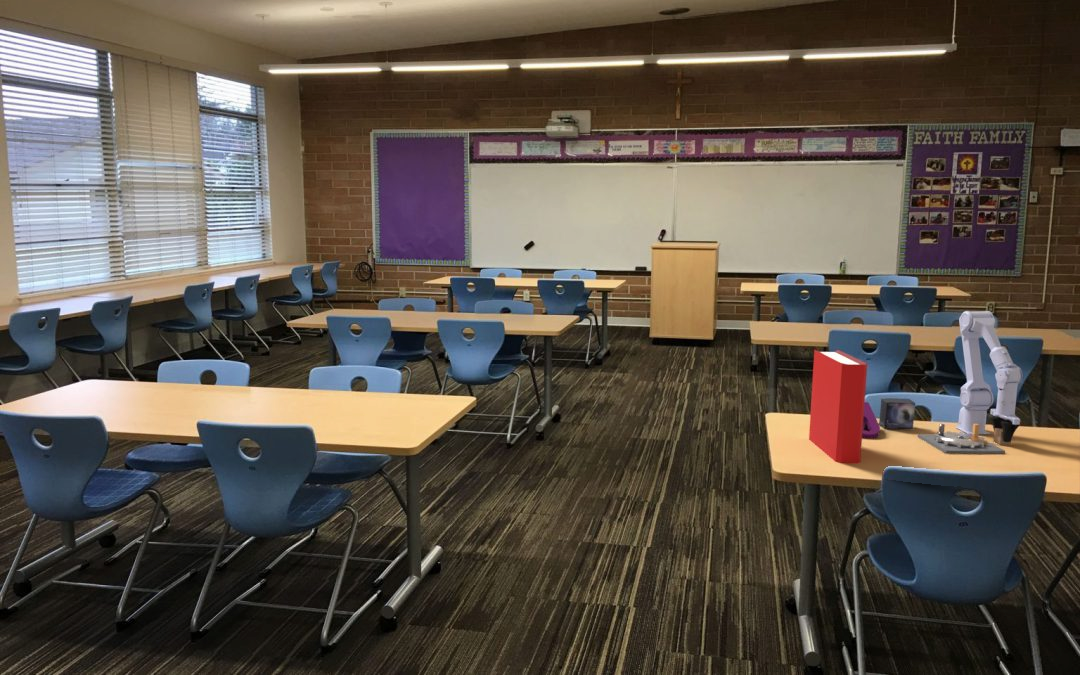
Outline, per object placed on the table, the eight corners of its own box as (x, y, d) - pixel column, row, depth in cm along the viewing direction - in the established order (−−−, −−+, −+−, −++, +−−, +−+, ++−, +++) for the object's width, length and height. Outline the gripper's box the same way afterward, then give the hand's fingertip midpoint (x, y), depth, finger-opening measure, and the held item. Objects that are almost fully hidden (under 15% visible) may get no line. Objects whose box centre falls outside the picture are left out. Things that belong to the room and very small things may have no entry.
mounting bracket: (877, 452, 304) (863, 419, 319) (883, 434, 299) (868, 402, 314) (851, 452, 304) (838, 419, 319) (856, 434, 299) (842, 401, 314)
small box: (884, 429, 312) (886, 401, 310) (878, 425, 318) (880, 397, 317) (913, 430, 312) (916, 402, 310) (906, 425, 318) (909, 398, 316)
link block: (993, 442, 297) (994, 428, 296) (1004, 442, 297) (1005, 428, 296) (999, 445, 293) (1001, 431, 292) (1011, 445, 293) (1012, 431, 292)
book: (808, 439, 298) (814, 349, 293) (831, 439, 298) (837, 349, 293) (837, 463, 271) (843, 364, 266) (861, 463, 271) (869, 364, 266)
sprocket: (925, 435, 300) (926, 420, 299) (970, 435, 301) (972, 420, 300) (948, 448, 284) (950, 433, 283) (996, 448, 285) (997, 433, 284)
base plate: (917, 437, 302) (918, 420, 301) (972, 437, 303) (974, 420, 302) (945, 453, 282) (947, 436, 281) (1004, 453, 283) (1006, 436, 282)
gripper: (983, 396, 300) (980, 433, 302) (1006, 406, 285) (1003, 445, 288) (1003, 396, 300) (999, 433, 302) (1027, 406, 286) (1023, 445, 288)
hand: (1002, 439), depth 295 cm, fingers open, 5 cm apart
